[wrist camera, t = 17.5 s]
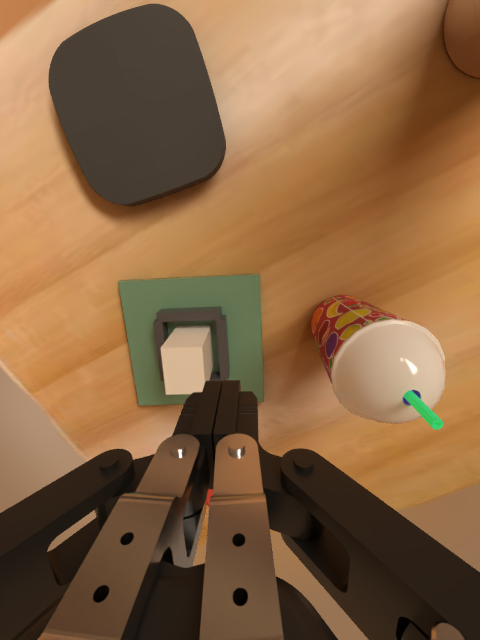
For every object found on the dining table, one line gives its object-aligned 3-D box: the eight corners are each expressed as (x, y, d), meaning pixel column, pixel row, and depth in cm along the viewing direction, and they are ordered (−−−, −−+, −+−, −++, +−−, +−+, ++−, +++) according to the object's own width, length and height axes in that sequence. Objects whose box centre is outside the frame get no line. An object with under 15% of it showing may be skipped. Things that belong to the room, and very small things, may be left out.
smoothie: (384, 332, 36) (536, 448, 17) (321, 364, 38) (396, 504, 18) (354, 272, 34) (488, 326, 15) (289, 308, 36) (335, 400, 17)
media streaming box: (110, 216, 34) (98, 215, 31) (48, 66, 30) (27, 49, 27) (236, 171, 32) (235, 165, 29) (187, 6, 28) (180, -19, 25)
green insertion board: (121, 280, 35) (110, 284, 32) (259, 273, 35) (260, 277, 32) (141, 401, 40) (132, 414, 37) (263, 397, 39) (264, 410, 36)
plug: (176, 325, 36) (160, 348, 29) (210, 324, 35) (202, 347, 29) (181, 368, 37) (166, 399, 30) (213, 367, 37) (206, 398, 30)
